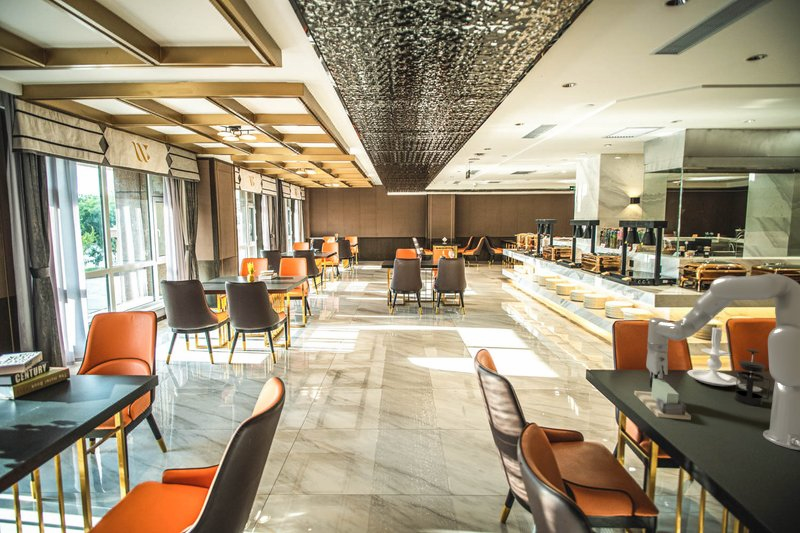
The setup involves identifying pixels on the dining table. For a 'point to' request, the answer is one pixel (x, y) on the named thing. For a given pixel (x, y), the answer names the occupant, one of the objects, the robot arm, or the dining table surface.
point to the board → (663, 406)
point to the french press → (751, 383)
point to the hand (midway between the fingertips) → (654, 387)
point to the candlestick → (714, 364)
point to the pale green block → (663, 391)
